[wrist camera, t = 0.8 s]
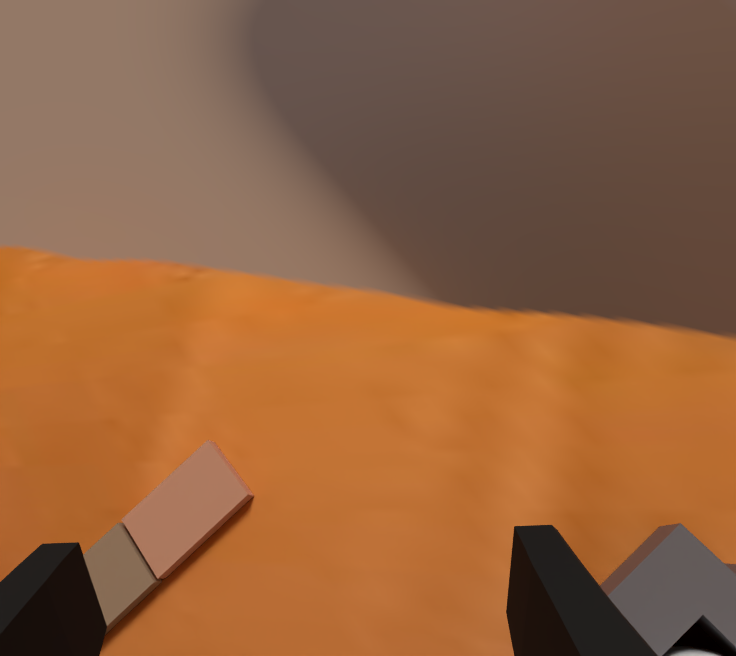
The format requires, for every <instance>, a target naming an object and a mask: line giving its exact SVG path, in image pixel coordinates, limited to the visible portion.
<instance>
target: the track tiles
mask: <svg viewBox="0 0 736 656" xmlns="http://www.w3.org/2000/svg"><path fill="white" fill-rule="evenodd" d="M253 496H254V495H253V494H252V492H251V491H250V490H249V488H248V487H247V486H246V484H245V483H244V482H243V480H242V479H241V477H240V476H239V475H238V473H237V472H236V471H235V469H234V468H233V467H232V465H231V464H230V463H229V461H228V460H227V458H226V457H225V456H224V454H223V453H222V452H221V450H220V449H219V448H218V446H217V445H216V443H215V442H213V441H210V440H207V441H206V442H205V443H204V444H203V445H202V446H201V447H200V448H199V449H197V450H196V451H195V452H194V453H193V454H192V455H191V456H190V457H189V458H188V459H187V460H186V461H184V462H183V463H182V464H181V465H180V466H179V467H178V468H177V469H176V470H175V471H174V472H172V473H171V474H170V475H169V476H168V477H167V478H166V479H165V480H164V481H163V482H162V483H161V484H159V485H158V486H157V487H156V488H155V489H154V490H153V491H152V492H151V493H150V494H149V495H148V496H146V497H145V498H144V499H143V500H142V501H141V502H140V503H139V504H138V505H137V506H136V507H135V508H133V509H132V510H131V511H130V512H129V513H128V514H127V515H126V516H125V517H124V518H123V519H122V521H123V523H117V524H116V525H115V526H114V527H113V528H112V529H111V530H110V531H109V532H107V533H106V534H105V535H104V536H103V537H102V538H101V539H100V540H99V541H98V542H97V543H95V544H94V545H93V546H92V547H91V548H90V549H89V550H88V551H87V552H86V553H85V554H84V555H83V556H84V559H85V562H86V565H87V568H88V571H89V574H90V577H91V580H92V583H93V586H94V589H95V592H96V595H97V598H98V601H99V604H100V607H101V610H102V613H103V616H104V619H105V622H106V625H107V629H106V633H105V634H107V633H108V632H109V631H110V630H111V629H112V628H113V627H114V626H115V625H116V624H117V623H118V622H119V621H120V620H121V619H123V618H124V617H125V616H126V615H127V614H128V613H129V612H130V611H131V610H132V609H133V608H134V607H135V606H136V605H138V604H139V603H140V602H141V601H142V600H143V599H144V598H145V597H146V596H147V595H148V594H149V593H150V592H151V591H153V590H154V589H155V588H156V587H157V586H158V585H159V584H160V583H161V582H162V581H161V578H166V577H167V576H169V575H170V574H171V573H172V572H173V571H174V570H175V569H176V568H177V567H178V566H179V565H180V564H181V563H182V562H184V561H185V560H186V559H187V558H188V557H189V556H190V555H191V554H192V553H193V552H194V551H195V550H196V549H197V548H198V547H200V546H201V545H202V544H203V543H204V542H205V541H206V540H207V539H208V538H209V537H210V536H211V535H212V534H213V533H215V532H216V531H217V530H218V529H219V528H220V527H221V526H222V525H223V524H224V523H225V522H226V521H227V520H228V519H230V518H231V517H232V516H233V515H234V514H235V513H236V512H237V511H238V510H239V509H240V508H241V507H242V506H243V505H244V504H246V503H247V502H248V501H249V500H250V499H251V498H252V497H253Z"/></svg>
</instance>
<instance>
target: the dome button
mask: <svg viewBox="0 0 736 656" xmlns="http://www.w3.org/2000/svg"><path fill="white" fill-rule="evenodd" d="M662 656H725V655H722V654H720V653H718V652H715V651H711V650H708V649H705V648H699V647H693V646H676V647H670V648H669V649H668V650H667V651H666V652H665V653H664V654H663V655H662Z"/></svg>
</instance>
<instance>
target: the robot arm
mask: <svg viewBox="0 0 736 656" xmlns="http://www.w3.org/2000/svg"><path fill="white" fill-rule="evenodd" d="M506 613H507V619H508V624H509V629H510V635H511V640H512V646H513V651H514V656H658V655H657V654H656V653H655V652H654V651H653V649H652V648H651V647H650V646H649V645H648V644H647V642H646V641H645V640H644V639H643V638H642V637H641V635H640V634H639V633H638V632H637V631H636V630H635V628H634V627H633V626H632V625H631V624H630V623H629V621H628V620H627V619H626V618H625V617H624V615H623V614H622V613H621V612H620V611H619V609H618V608H617V607H616V606H615V605H614V603H613V602H612V601H611V600H610V598H609V597H608V596H607V595H606V593H605V592H604V591H603V590H602V588H601V587H600V586H599V585H598V583H597V582H596V581H595V580H594V578H593V577H592V576H591V574H590V573H589V572H588V571H587V569H586V568H585V567H584V565H583V564H582V563H581V561H580V560H579V559H578V557H577V556H576V555H575V554H574V552H573V551H572V549H571V548H570V547H569V545H568V544H567V543H566V541H565V540H564V539H563V537H562V536H561V535H560V533H559V532H558V530H557V529H555V528H554V527H553V526H552V525H537V526H514V536H513V547H512V557H511V568H510V578H509V589H508V599H507V610H506ZM106 629H107V625H106V622H105V619H104V616H103V613H102V610H101V607H100V604H99V601H98V598H97V595H96V592H95V589H94V586H93V583H92V580H91V577H90V574H89V571H88V568H87V565H86V562H85V559H84V556H83V553H82V550H81V547H80V544H79V543H52V544H42V545H40V546H39V547H38V548H37V549H36V550H35V551H34V552H33V553H31V554H30V555H29V556H28V557H27V558H26V559H25V560H24V561H23V562H22V563H20V564H19V565H18V566H17V567H16V568H15V569H14V570H13V571H12V572H11V573H10V574H9V575H8V576H6V577H5V578H4V579H3V580H2V581H1V582H0V656H99V654H100V651H101V647H102V644H103V640H104V636H105V633H106Z"/></svg>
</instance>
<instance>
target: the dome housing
mask: <svg viewBox="0 0 736 656" xmlns="http://www.w3.org/2000/svg"><path fill="white" fill-rule="evenodd" d="M600 587H601V588H602V590H603V591H604V592H605V593H606V595H607V596H608V597H609V598H610V600H611V601H612V602H613V603H614V605H615V606H616V607H617V608H618V609H619V611H620V612H621V613H622V614H623V615H624V617H625V618H626V619H627V620H628V621H629V623H630V624H631V625H632V626H633V627H634V628H635V630H636V631H637V632H638V633H639V634H640V635H641V637H642V638H643V639H644V640H645V641H646V642H647V644H648V645H649V646H650V647H651V648H652V649H653V651H654V652H655V653H656V654H657V655H658V656H662V655H663V654H664V653H665V652H666V651H667V650H668V649H669V648H670V647H671V646H672V645H673V644H674V643H675V642H676V641H677V640H678V639H679V638H680V637H681V636H682V635H683V634H684V633H685V632H686V631H687V630H688V629H689V628H690V627H691V626H692V625H693V624H694V623H695V622H696V623H697V624H698V625H699V626H700V627H701V628H702V629H703V630H704V631H705V632H706V633H707V634H708V635H709V636H710V637H711V638H712V639H713V640H714V641H715V642H716V643H717V644H718V645H719V646H720V647H721V648H722V649H723V650H724V651H725V652H726V653H727V654H728V655H729V656H736V564H725V563H723V562H722V561H721V560H720V559H718V558H717V557H716V556H715V555H714V554H713V553H712V552H711V551H710V550H709V549H708V548H707V547H706V546H704V545H703V544H702V543H701V542H700V541H699V540H698V539H697V538H696V537H695V536H694V535H693V534H691V533H690V532H689V531H688V530H687V529H686V528H685V527H684V526H683V525H682V524H681V523H679V524H673V525H666V526H660V527H659V528H658V529H657V530H656V531H655V532H654V533H653V534H652V535H651V536H650V537H649V538H648V539H647V540H646V541H645V542H644V543H643V544H642V545H641V546H640V547H639V548H638V549H637V550H636V551H635V552H634V553H633V554H632V555H630V556H629V557H628V558H627V559H626V560H625V561H624V562H623V563H622V564H621V565H620V566H619V567H618V568H617V569H616V570H615V571H614V572H613V573H612V574H611V575H610V576H609V577H608V578H607V579H606V580H605V581H604V582H603V583H602V584H601V585H600Z"/></svg>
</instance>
